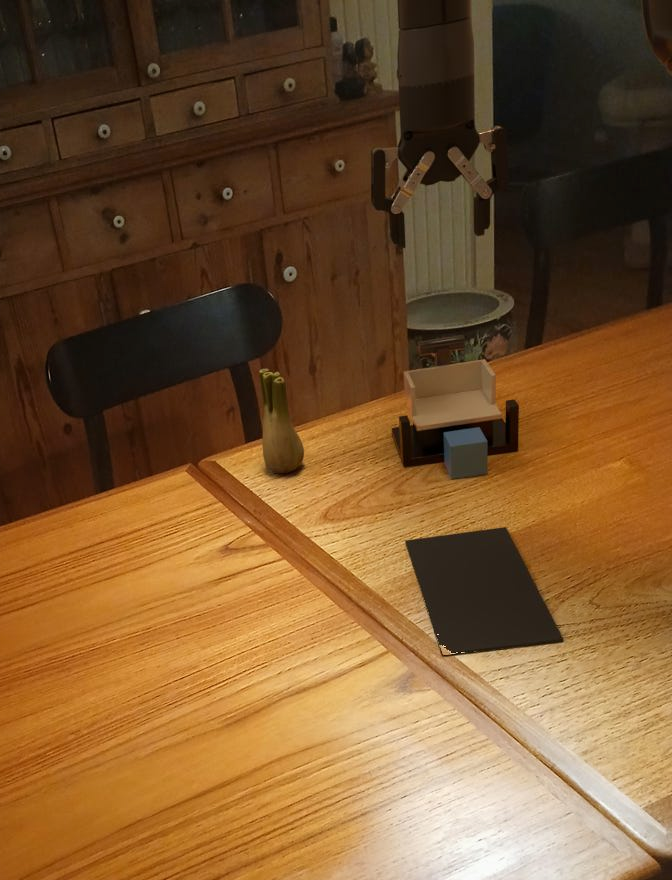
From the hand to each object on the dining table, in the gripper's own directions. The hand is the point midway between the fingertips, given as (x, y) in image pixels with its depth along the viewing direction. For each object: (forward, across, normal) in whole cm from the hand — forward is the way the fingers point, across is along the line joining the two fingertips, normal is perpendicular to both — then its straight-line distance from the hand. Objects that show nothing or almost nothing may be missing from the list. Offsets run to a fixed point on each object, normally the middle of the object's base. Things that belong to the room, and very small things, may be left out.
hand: (440, 240), depth 109 cm
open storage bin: (+18, 0, -4) cm, 18 cm away
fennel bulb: (+22, -20, -5) cm, 30 cm away
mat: (+22, -4, -37) cm, 43 cm away
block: (+20, 0, -10) cm, 23 cm away
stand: (+22, 0, -5) cm, 23 cm away
